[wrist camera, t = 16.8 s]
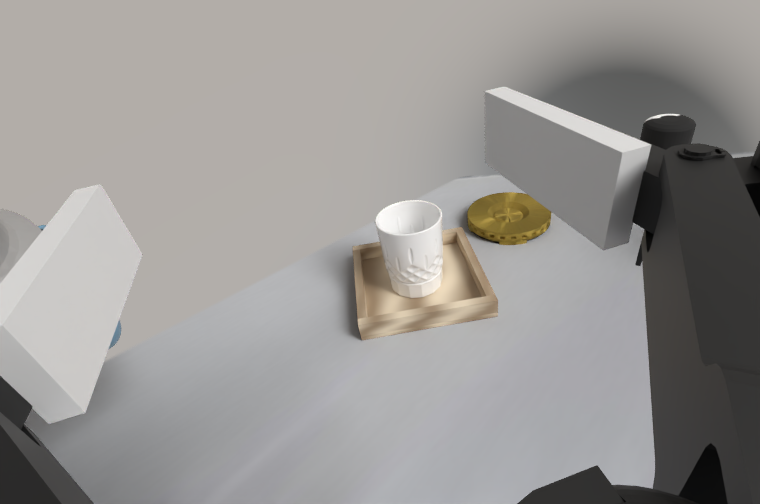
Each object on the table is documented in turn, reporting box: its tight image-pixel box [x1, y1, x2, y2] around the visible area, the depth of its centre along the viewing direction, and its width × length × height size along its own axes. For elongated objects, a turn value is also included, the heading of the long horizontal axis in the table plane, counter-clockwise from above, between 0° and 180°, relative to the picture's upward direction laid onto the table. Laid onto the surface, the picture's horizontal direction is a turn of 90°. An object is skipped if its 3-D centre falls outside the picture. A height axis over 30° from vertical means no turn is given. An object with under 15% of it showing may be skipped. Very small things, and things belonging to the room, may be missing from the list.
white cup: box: [375, 200, 443, 298], centre depth 52 cm, size 8×8×10 cm
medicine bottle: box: [640, 114, 696, 150], centre depth 60 cm, size 7×7×12 cm
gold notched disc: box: [467, 192, 551, 245], centre depth 63 cm, size 12×12×2 cm
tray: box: [353, 227, 498, 340], centre depth 54 cm, size 16×16×2 cm
